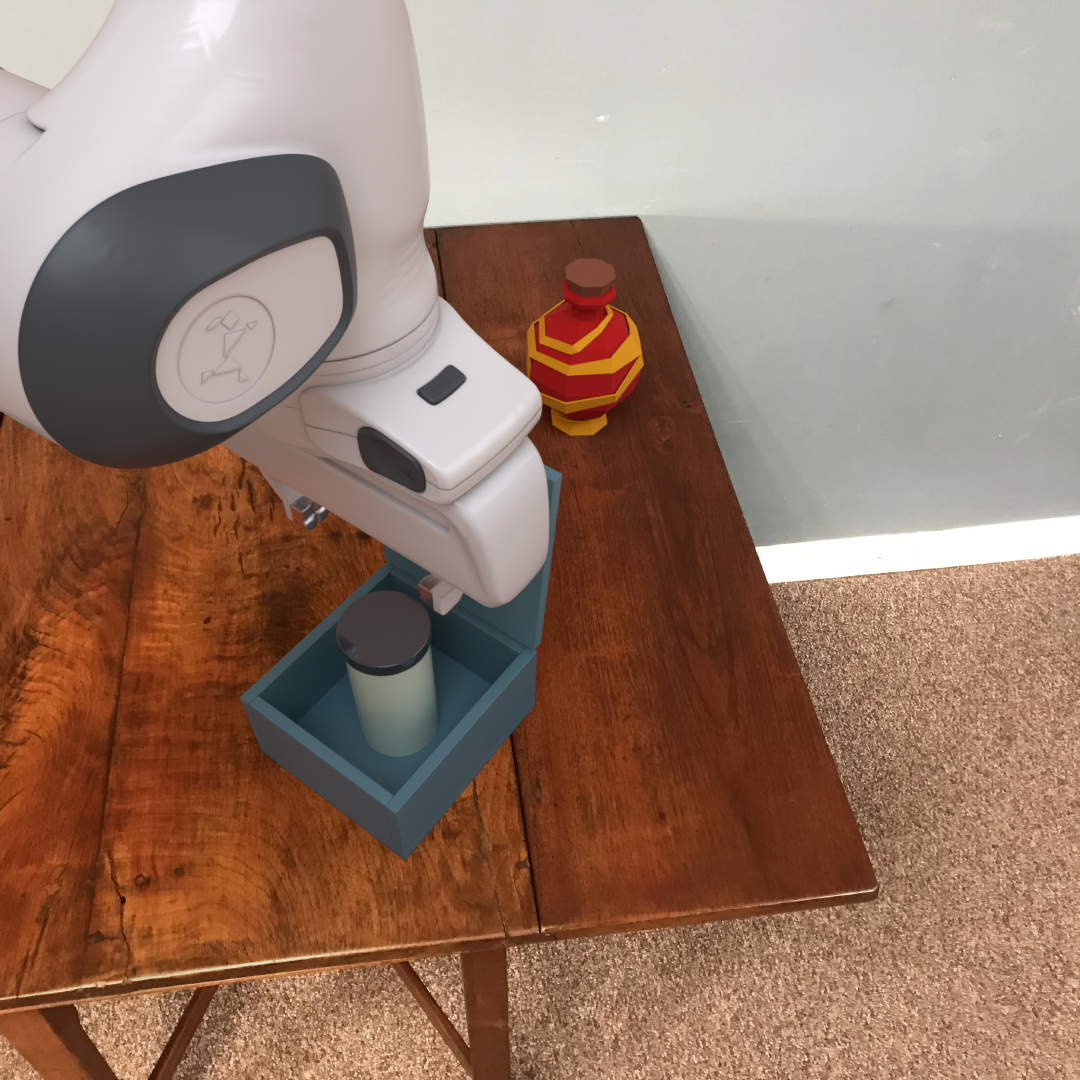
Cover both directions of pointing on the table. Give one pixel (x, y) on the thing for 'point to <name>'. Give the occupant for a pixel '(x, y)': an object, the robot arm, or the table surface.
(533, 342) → the potion bottle
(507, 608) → the lid
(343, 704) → the chest
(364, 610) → the jar
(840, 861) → the table surface
